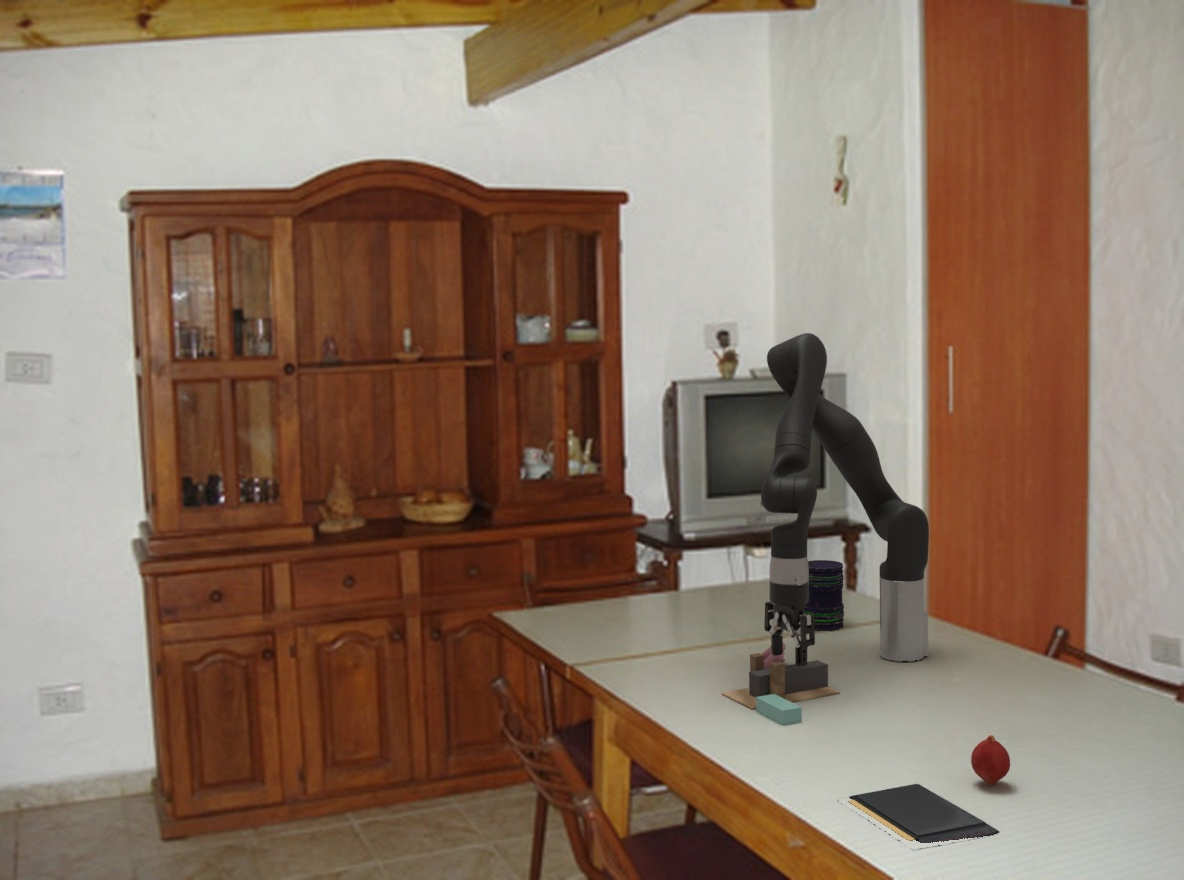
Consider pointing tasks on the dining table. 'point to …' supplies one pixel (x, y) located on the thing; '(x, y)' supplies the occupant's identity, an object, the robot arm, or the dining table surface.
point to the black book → (921, 814)
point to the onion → (990, 760)
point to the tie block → (779, 709)
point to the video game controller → (772, 657)
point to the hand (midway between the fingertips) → (789, 660)
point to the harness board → (790, 697)
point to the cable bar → (791, 678)
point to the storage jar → (825, 595)
